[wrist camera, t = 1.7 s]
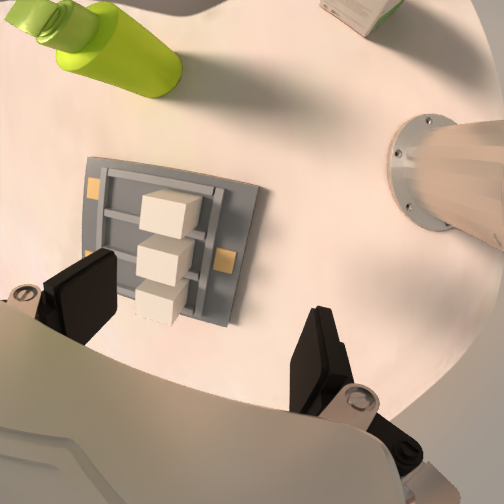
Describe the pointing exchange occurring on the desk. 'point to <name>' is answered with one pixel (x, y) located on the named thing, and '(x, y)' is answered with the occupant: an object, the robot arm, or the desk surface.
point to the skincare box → (361, 12)
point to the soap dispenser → (100, 44)
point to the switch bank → (130, 236)
